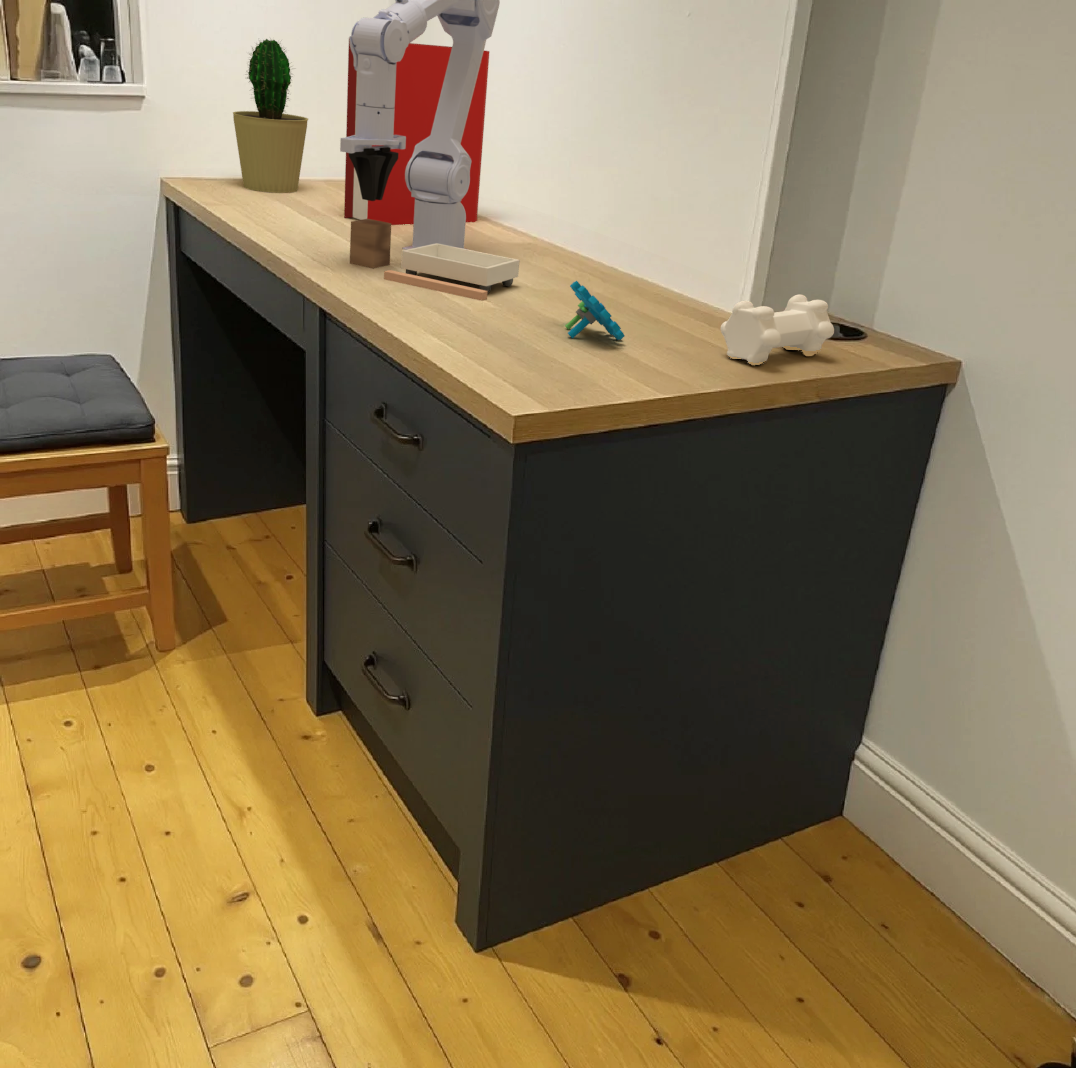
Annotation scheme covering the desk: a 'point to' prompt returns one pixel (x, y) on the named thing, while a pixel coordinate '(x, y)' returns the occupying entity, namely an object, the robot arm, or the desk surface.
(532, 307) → the desk surface
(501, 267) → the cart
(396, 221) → the book
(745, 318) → the white bone
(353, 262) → the walnut block
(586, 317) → the gear
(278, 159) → the potted cactus
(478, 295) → the thin flat board
